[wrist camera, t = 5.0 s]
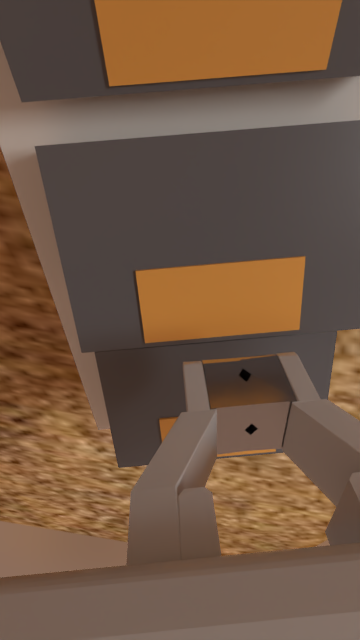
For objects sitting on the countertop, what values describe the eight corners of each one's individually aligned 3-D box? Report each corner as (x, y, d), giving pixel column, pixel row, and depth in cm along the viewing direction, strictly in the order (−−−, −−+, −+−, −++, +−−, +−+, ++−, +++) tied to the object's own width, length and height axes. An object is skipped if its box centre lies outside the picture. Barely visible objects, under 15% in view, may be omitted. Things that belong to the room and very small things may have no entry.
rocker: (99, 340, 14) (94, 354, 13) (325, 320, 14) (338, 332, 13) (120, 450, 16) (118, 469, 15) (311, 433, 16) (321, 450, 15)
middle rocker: (46, 148, 9) (33, 146, 8) (374, 121, 9) (399, 116, 8) (87, 338, 12) (80, 354, 11) (346, 316, 12) (362, 329, 11)
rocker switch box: (-59, -228, 8) (-195, -419, 5) (386, -258, 8) (530, -460, 5) (106, 374, 21) (98, 429, 18) (282, 358, 21) (306, 410, 18)
